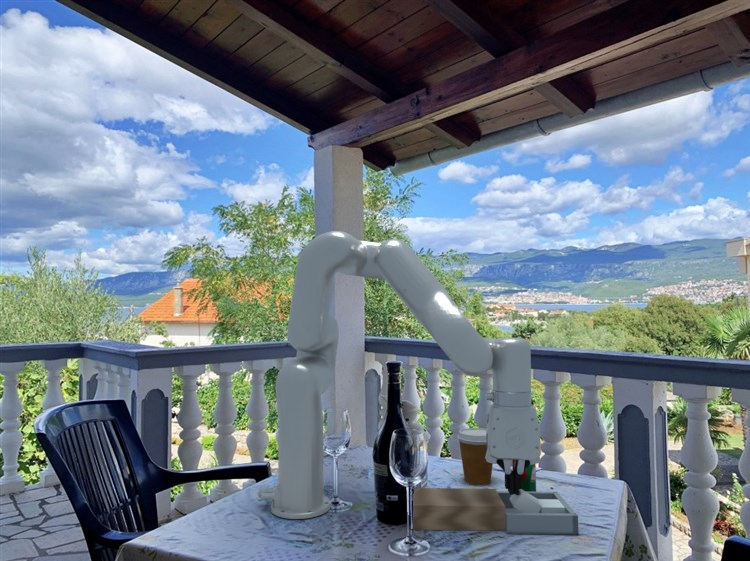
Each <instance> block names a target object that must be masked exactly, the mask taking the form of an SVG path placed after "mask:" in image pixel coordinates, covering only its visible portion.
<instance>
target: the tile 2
mask: <svg viewBox="0 0 750 561" xmlns="http://www.w3.org/2000/svg"><path fill="white" fill-rule="evenodd" d="M537 500H538V501H539V503H540V504H541V505H542V508H541V509H540V511H539V513H565V507H564V506H563V504H562V503H561V502H560V501H559V500H558V499H537Z"/></svg>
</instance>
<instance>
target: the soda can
mask: <svg viewBox="0 0 750 561" xmlns="http://www.w3.org/2000/svg"><path fill="white" fill-rule="evenodd" d="M511 466H512V467H511V470H512V471H513V468H514V466H515V460H512V463H511ZM536 466H537V464H533V465H529V466H528V467H527V468H526V469H525V470H524V471H523V474H521V486H522V488H521V489H522V490H523V491H529V492H537V473H536V472H537V469H536V468H537V467H536Z"/></svg>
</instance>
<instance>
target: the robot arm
mask: <svg viewBox="0 0 750 561" xmlns="http://www.w3.org/2000/svg"><path fill="white" fill-rule="evenodd" d="M336 273H339V274H342V275H348V276H354V277H362V278H368V279H377V280H384V281H385V282H386V283H387V284H388V285H389V286H390V288H392V290H393V291H394V292H395V293H396V294H397V296H398V297H399V299H401V301H402V302H403V304H404V305H405V306H406V307H407V309H408V310H409V311H410V312H411V314H413V316H414V318H415V319H416V320H417V321H418V322H419V324H420V325H422V326H423V328H424V329H425V330H426V331H427V332H428V334H429V335H430V336H431V338H433V340H434V341H435V343H437V345H438V346H439V347H440V348H441V350H442V351H443V352H444V354H445V355H446V356H447V357H448V358H449V360H451V362H452V363H453V364H454V366H455V367H456V369H458V370H459V371H460V372H461V373H462V374H464V375H466V376H469V377H480V376H482V375H484V374H486V373H487V372H488V371H491V372H492V389H491V392H489V393H488V392H485V394H484V396H485V397H484V398H485V401H490V402H492V404H490V405H489V407H488V412H487V419H486V420H487V421H486V429H487V432H486V448H487V452H486V457H485V459H486V461H487V462H489V463H493V465H497V466H499V468H500V469H501V470H503V472H504V488H505V490H507V491H508V492H509V493H510V495H513V494H516V495H519V489H521V488H522V486H521V474H523V471H524V470H525V469H526V468H527V467H528V466H529V465H533V464H536V465H537V464H540V463H541V461H542V460H541V455H542V446H541V434H540V433H541V432H540V424H539V423H540V422H539V417H538V412H537V407H535V406H533V405H532V363H531V360H532V359H531V352H532V351H531V344H530V341H529V340H527V339H526V338H523V337H522V338H521V337H498V338H493V337H492V338H491V337H483V336H482V335H481V334H480V333H479V332H478V330H476V328H475V327H474V326H473V325H472V324H471V322H470V321H469V320H468V319H467V317H466V316H465V315H464V314H463V312H462V311H461V310H460V309H459V308H458V306H457V305H456V303H455V302H454V300H453V299H452V297H451V295H450V294H449V292H448V290H446V288H445V287H444V285H442V283H441V282H440V281H439V280H438V279H437V277H436V276H435V275H434V274H433V273H432V272H431V270H430V269H429V268H428V267H427V266H426V265H425V263H424V262H423V261H422V259H420V258H419V256H418V255H417V254H416V252H414V250H413V249H412V248H411V247H410V245H409V244H407V242H405V241H403V240H401V239H399V238H392V239H387V240H385V241H383V242H376V241H375V242H374V241H368V240H367V241H366V240H361V239H357V238H356V237H354V236H353V235H352V234H351V233H348V232H345V231H341V230H332V231H327V232H324V233H322V234H319V235H317V236H315V237H314V238H313V239H311V240H310V241H309V242H307V244H306V245H305V246H304V248H303V249H302V251H301V252H300V255H299V258H298V260H297V265H296V268H295V275H294V276H295V277H294V285H293V292H292V297H291V302H290V303H291V304H290V310H289V317H288V324H287V331H286V333H287V334H286V335H287V339H288V343H289V344H290V346H291V347H292V348H293V349H295V350H296V356H295V358H294V359H292V360H291V359H290V360H289V361H287V362H286V363H285V364H284V365H283V366H282V367H281V368H280V370H279V371H278V373H277V377H276V379H275V398H276V403H277V404H276V405H277V414H278V416H277V418H278V422H277V424H278V432H277V433H278V454H277V456H278V457H277V458H278V464H277V467H278V468H277V471H278V475H277V477H278V478H277V479H278V480H277V482H278V483H277V484H278V485H275V486H274V487H268V486H267V487H262V486H261V487H259V488H258V497H259V498H260V499H261V500H263V501H267V500H272V502H271V504H270V511H271V513H272V514H273V515H274V516H276V517H278V518H282V519H287V520H304V519H310V518H315V517H320V516H321V515H322V516H323V514H326V513H327V512H328V511H329V510H330V509H331V506H332V504H331V503H332V501H331V499H330V498H329V497H327V496H326V495H325V494H324V415H323V413H324V412H323V404H322V403H323V402H322V395H323V394H324V393H325V392H327V391H328V390H329V388H330V387H331V385H332V383H333V379H334V374H335V367H336V360H337V353H338V352H337V351H338V346H339V345H338V344H339V337H340V336H339V335H340V332H339V330H340V329H339V325H338V320H337V319H336V317H335V316H334V315H333V314H332V313H331V304H332V299H333V290H334V287H333V286H334V285H333V284H334V282H333V281H334V277H335V274H336ZM510 460H515V466H514V468H513V470H512V467H511V466H512V465H511V462H510Z"/></svg>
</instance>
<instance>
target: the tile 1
mask: <svg viewBox="0 0 750 561" xmlns="http://www.w3.org/2000/svg"><path fill="white" fill-rule="evenodd" d="M509 500H510V501H511V503H512V505H513V506H514V508H516V509H517V510H519V511H521V512H522V513H539V511H540V509H541V508H542V505H541V504H540V503H539V501H538V500H537V499H536V498H535V497H534V496H532V495H530V494H529V493H527V492H525V491H523V490H522V489H519V495H516V494H513V495H511V497H510V499H509Z"/></svg>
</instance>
